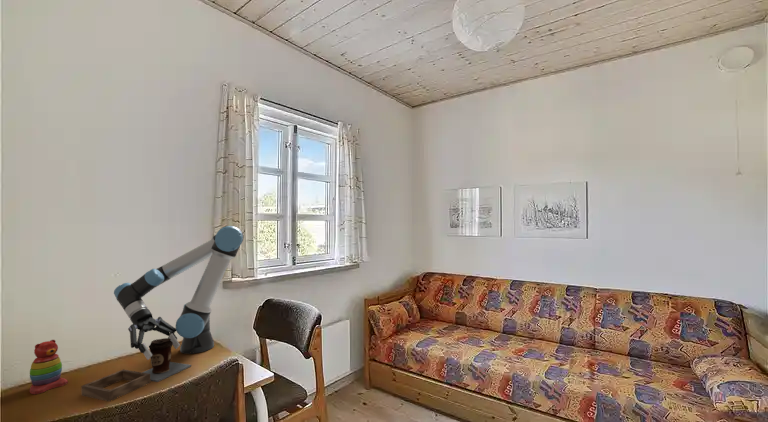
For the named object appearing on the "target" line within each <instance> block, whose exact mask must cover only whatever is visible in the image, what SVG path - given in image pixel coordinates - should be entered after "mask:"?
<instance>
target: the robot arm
mask: <svg viewBox="0 0 768 422" xmlns="http://www.w3.org/2000/svg"><path fill="white" fill-rule="evenodd" d="M243 241H244V233H243V231H242V229H240V227H237V226H235V225H227V226H223V227H221V228H220V229H219V230H218V231H217V232H216V234H215V235H213V236H212V237H211V239H210V240H208V241H206V242H205V243H203V244H200V245H199V246H197V247H194V248H193V249H192V250H190V251H188V252H185V253H184V254H182V255H179V256H177V257H176V258H174V259H172V260H170V261H169V262H167V263H164V264H163V265H162V266H159V267H157V268H152V269H150V270H147V271H146V272H145V273H144V274H143V275H141V276H140V277H139V278H138V279H136V280H135V281H134V282H132V283H130V282H124V283H122V284H120V285H118V286H117V287H115V289H114V291H113V294H114V296H115V300H116V301H117V302H118V303H119V305H120V306H121V308H122V309H123V310H124V312H125V314H126V315H127V316H128V318H129V321H130V322H131V323H132V324H130V326H129V327H128V329H127V330H128V331H129V337H130V339H129V340H130V348H132V349H133V348H135V349H137V350H138V351H139V352H140V353H141V354H143V356H144V357H145V358H146V360H147V361H149V360H151V357H152V353H151V352H150V348H149V346H147V344H146V343H145V342H143V339H144V336H145V333H148V332H151V331H154V332H155V331H156V332H158V333H161V334H163V335H165V336H168V337H167V338H170V339H171V341H172V342H173V345H172V346H173V348H174V349H175V350H177V349H178V348H179V349H180V350H179V351H180V353H181V354H187V355H191V354H192V355H193V354H199V353H203V352H206V351H209V350H212V349H213V348H215V347H214V346H215V340H214V338H213V336H212V333H211V320H210V319H211V318H210V316H211V313H212V309H211V304H212V302H213V300H214V297H215V296H216V293H217V291H218V289H219V288H220V284H221V282H222V280H223V277H224V276H225V273H226V271H227V268H228V266H229V263H230V262H231V260H232V259H234V258H236V257H237V254H238V252H239V250H240V247H241V245H242V244H243ZM208 259H209V260H208ZM205 260H208V263H207V265H206V267H205V270H204V271H203V273H202V276H201V278H200V281H199V282H198V285H197V287H196V289H195V291H194V294H193V296H192V298H191V300H190V301H188V302H186V303H185V304H183V308H182V311H181V314H180V316H179V317H178V318H177V320H175V321H176V322H175V327H174V326H172V325H171V324H170V323H169V322H167V321H165V320H164V319H163V317H161V316H158V317H157V318H154V317H153V313H152V312H151V311H150V309H149V308H148V306H147V305H146V303H145V302H144V301H143V299H142V298H143V297H145V296H146V295H147V294H148V293H150V292H151V291H152V290H154V289H155V288H157V287H159V286H160V285H163V284H164V283H166V282H168V281H169V280H171V279H173V278H174V277H176V276H178V275H180V274H182V273H184V272H185V271H187V270H189V269H191V268H193V267H195V266H196V265H198V264H200V263H203V262H204V261H205ZM137 331H139V332H138V335H137ZM175 333H177V334H178V336H180V337H182V340H181V341H182V342H181V344H180V342H179V341H178V337H177V336H176V334H175Z"/></svg>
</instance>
